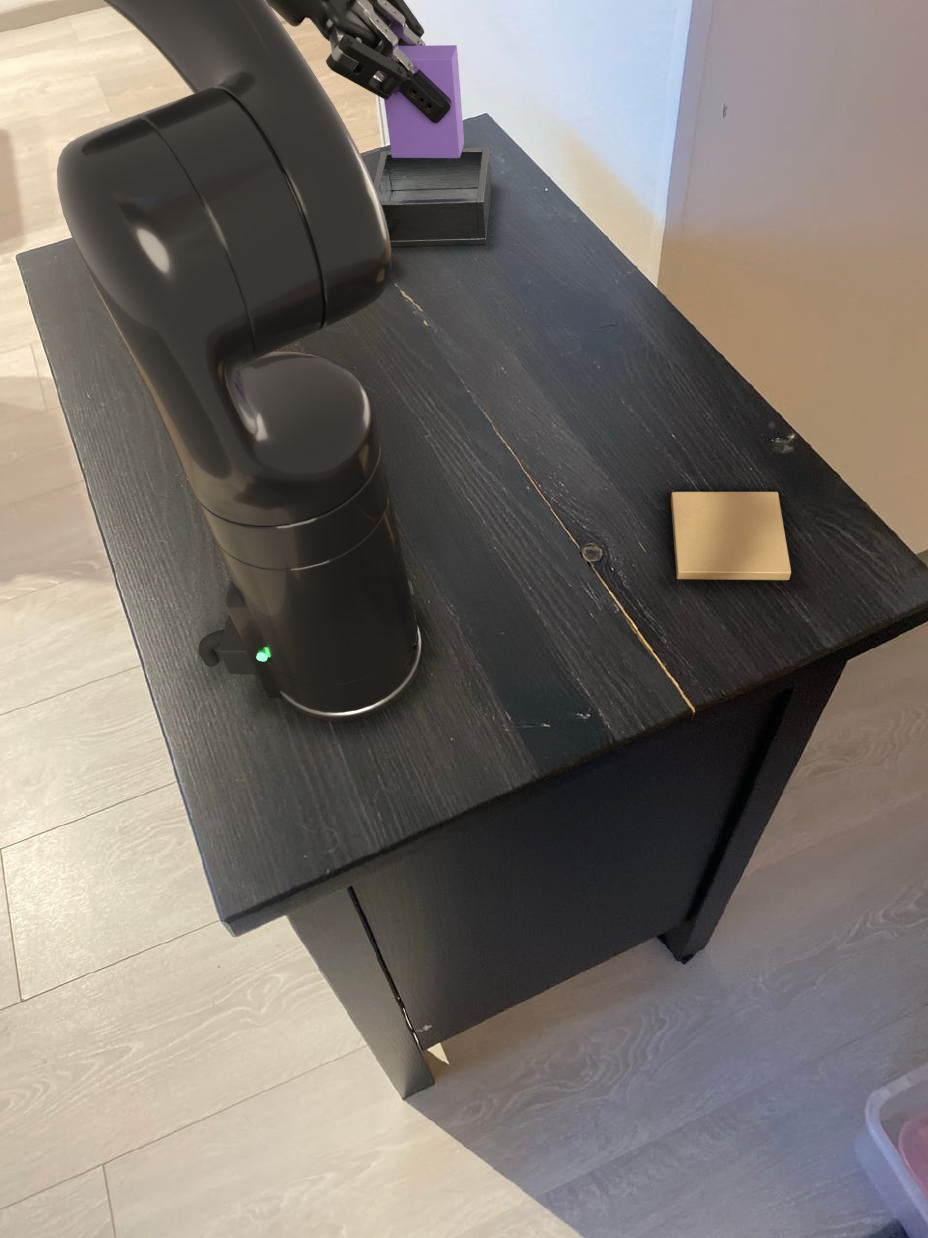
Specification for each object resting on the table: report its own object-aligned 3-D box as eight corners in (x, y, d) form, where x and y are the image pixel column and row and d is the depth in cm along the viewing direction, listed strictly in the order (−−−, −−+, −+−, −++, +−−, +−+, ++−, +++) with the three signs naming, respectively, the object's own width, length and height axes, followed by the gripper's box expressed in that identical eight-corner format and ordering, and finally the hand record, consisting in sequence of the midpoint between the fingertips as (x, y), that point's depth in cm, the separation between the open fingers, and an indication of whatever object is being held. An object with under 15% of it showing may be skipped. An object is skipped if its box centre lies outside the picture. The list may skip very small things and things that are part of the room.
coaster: (676, 579, 61) (677, 571, 60) (670, 499, 65) (671, 491, 64) (789, 580, 60) (791, 572, 59) (775, 499, 64) (778, 491, 63)
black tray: (375, 247, 86) (368, 204, 82) (387, 193, 91) (381, 150, 87) (485, 244, 84) (483, 201, 81) (491, 189, 90) (489, 146, 86)
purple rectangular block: (459, 158, 81) (451, 58, 75) (391, 157, 82) (378, 59, 76) (464, 143, 83) (457, 44, 76) (397, 143, 84) (384, 45, 77)
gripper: (273, -57, 78) (435, 97, 86) (221, 17, 70) (404, 179, 78) (323, -140, 73) (489, 32, 81) (272, -71, 65) (463, 113, 72)
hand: (447, 104), depth 79 cm, fingers closed on purple rectangular block, 2 cm apart
